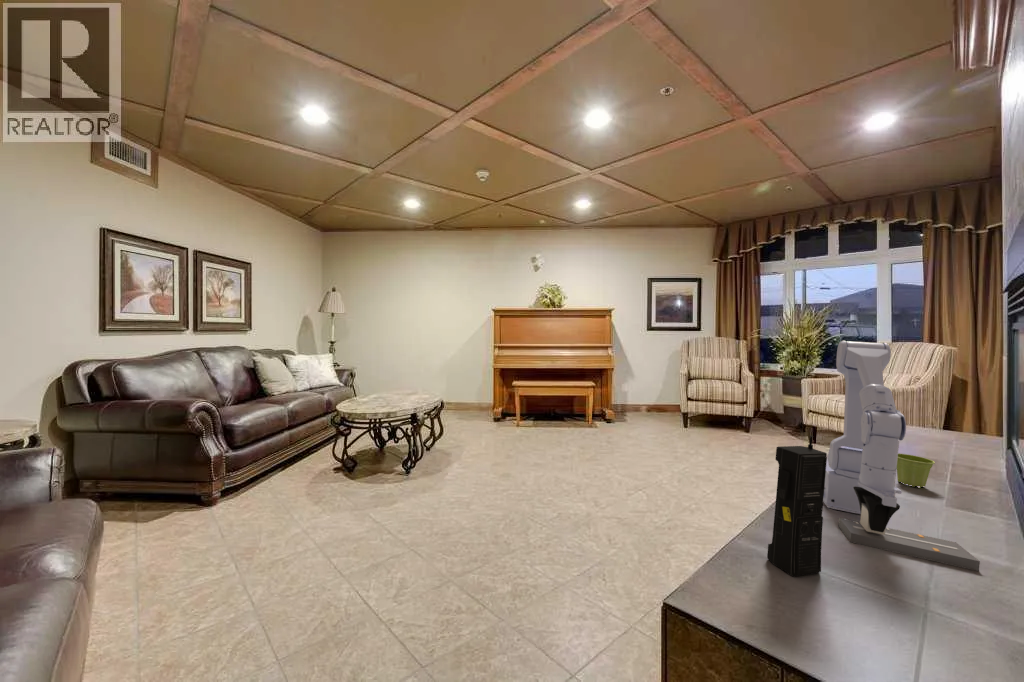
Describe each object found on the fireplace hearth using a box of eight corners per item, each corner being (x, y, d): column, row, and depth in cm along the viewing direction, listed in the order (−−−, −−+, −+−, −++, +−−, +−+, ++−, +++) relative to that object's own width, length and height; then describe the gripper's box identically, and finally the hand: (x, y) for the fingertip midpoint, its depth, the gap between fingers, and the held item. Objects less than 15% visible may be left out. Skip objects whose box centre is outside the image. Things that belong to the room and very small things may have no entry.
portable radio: (790, 579, 71) (803, 443, 70) (761, 560, 77) (772, 433, 76) (823, 575, 73) (835, 442, 72) (792, 556, 79) (803, 433, 78)
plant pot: (883, 479, 129) (885, 453, 128) (902, 478, 132) (904, 452, 131) (920, 491, 120) (922, 463, 119) (939, 489, 123) (942, 462, 122)
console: (850, 541, 86) (851, 532, 86) (838, 526, 94) (839, 517, 94) (978, 571, 78) (979, 560, 78) (955, 551, 85) (956, 541, 85)
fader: (866, 531, 87) (868, 510, 87) (859, 523, 90) (861, 502, 90) (885, 535, 85) (887, 513, 85) (877, 527, 89) (879, 506, 89)
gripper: (919, 480, 79) (912, 546, 80) (888, 460, 92) (882, 517, 93) (873, 473, 82) (867, 536, 83) (849, 454, 95) (844, 509, 96)
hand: (872, 526), depth 88 cm, fingers closed on fader, 4 cm apart
